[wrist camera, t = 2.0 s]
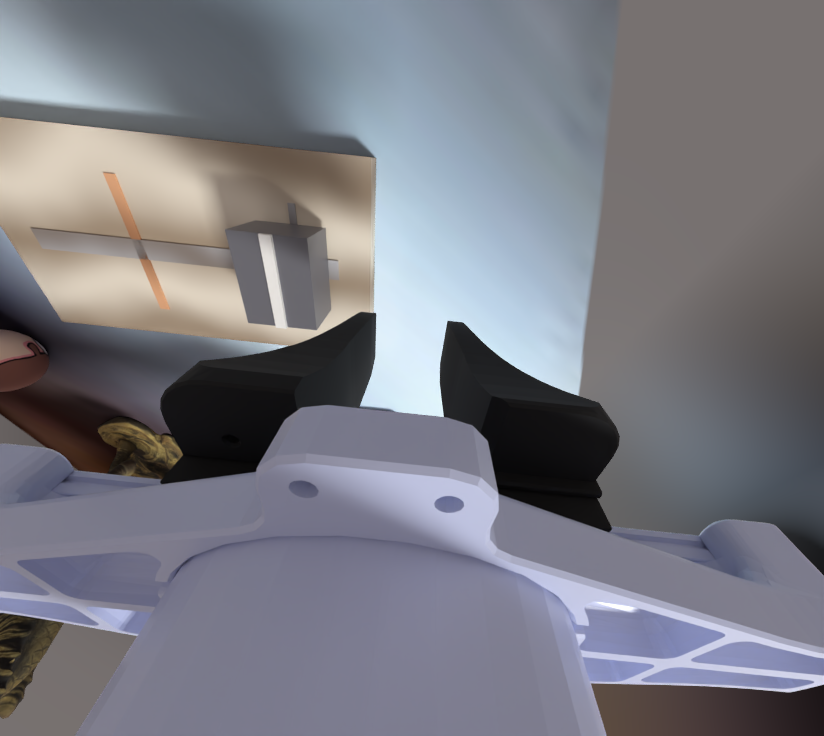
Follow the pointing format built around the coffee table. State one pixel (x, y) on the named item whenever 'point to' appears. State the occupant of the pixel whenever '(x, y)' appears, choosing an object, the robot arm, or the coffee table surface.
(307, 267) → the fader tab
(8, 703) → the figurine
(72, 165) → the fader console
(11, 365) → the figurine character
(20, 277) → the coffee table surface
